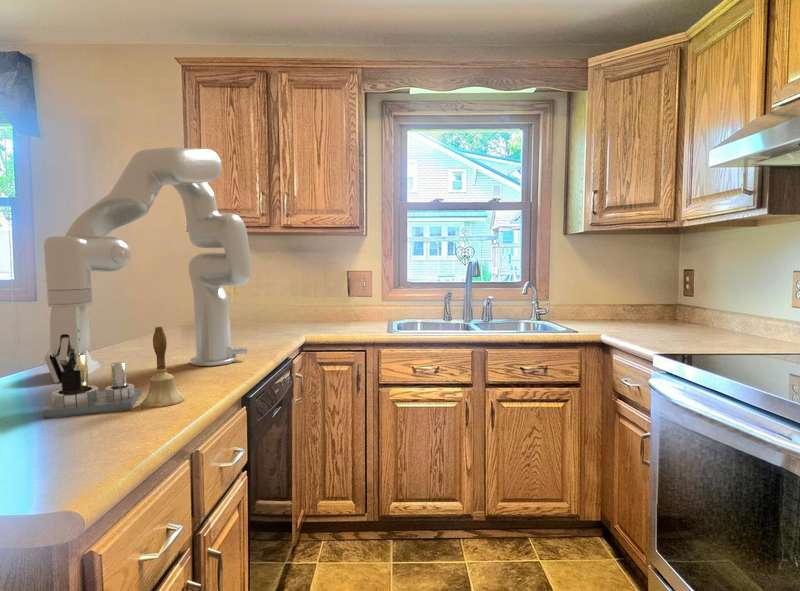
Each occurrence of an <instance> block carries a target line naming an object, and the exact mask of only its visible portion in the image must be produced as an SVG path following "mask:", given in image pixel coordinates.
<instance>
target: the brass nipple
mask: <svg viewBox="0 0 800 591" xmlns="http://www.w3.org/2000/svg"><path fill="white" fill-rule="evenodd" d="M69 355H75V354H69ZM71 359H72V361H73V363H74V358H71ZM78 370H80V371H81V387H82V388H81V389H80V390H78V391H66V392H64V391H63V394H77V393H82V392H86V391H88V385H89V375H87V359H86V354H85V353H81V354H80V355H78Z"/></svg>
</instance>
